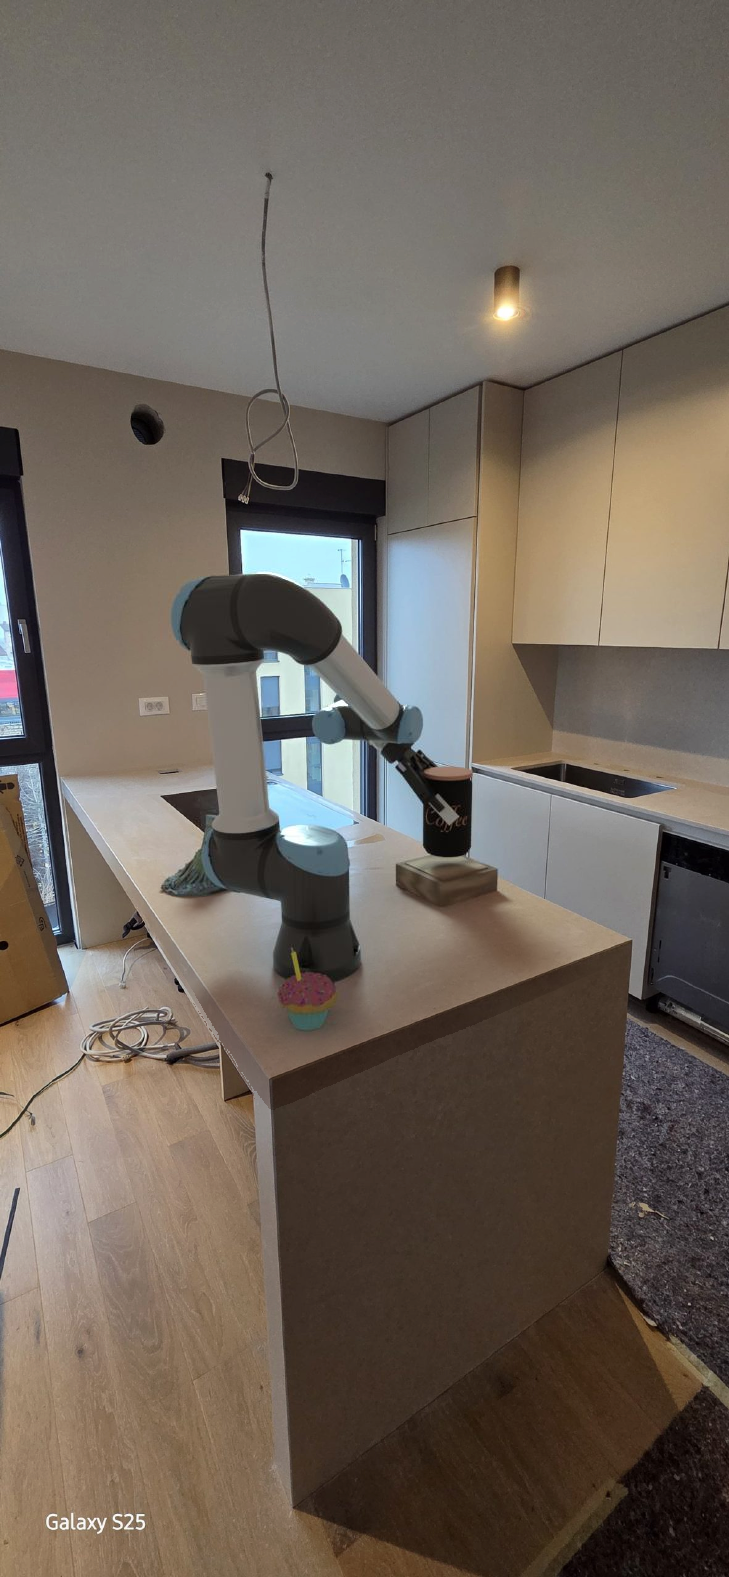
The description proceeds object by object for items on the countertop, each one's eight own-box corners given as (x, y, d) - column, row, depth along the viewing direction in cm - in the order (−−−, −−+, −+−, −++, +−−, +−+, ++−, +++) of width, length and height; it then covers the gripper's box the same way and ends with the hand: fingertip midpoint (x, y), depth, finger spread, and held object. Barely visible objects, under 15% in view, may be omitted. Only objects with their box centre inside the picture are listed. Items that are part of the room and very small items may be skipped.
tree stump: (150, 880, 156) (162, 806, 155) (230, 883, 167) (241, 814, 166) (172, 901, 141) (185, 819, 140) (258, 903, 152) (270, 827, 151)
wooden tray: (497, 890, 145) (497, 867, 144) (441, 906, 137) (441, 882, 136) (449, 870, 158) (449, 849, 157) (395, 884, 150) (395, 862, 149)
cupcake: (283, 1042, 91) (280, 963, 89) (275, 1010, 99) (271, 937, 97) (343, 1032, 94) (342, 955, 91) (330, 1001, 102) (328, 929, 99)
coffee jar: (418, 856, 142) (418, 775, 138) (428, 841, 152) (428, 765, 148) (467, 860, 139) (469, 777, 135) (474, 845, 149) (476, 767, 145)
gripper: (395, 743, 157) (459, 811, 155) (361, 761, 136) (434, 840, 134) (417, 722, 154) (482, 791, 152) (385, 736, 133) (460, 817, 131)
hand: (460, 814), depth 143 cm, fingers closed on coffee jar, 11 cm apart
